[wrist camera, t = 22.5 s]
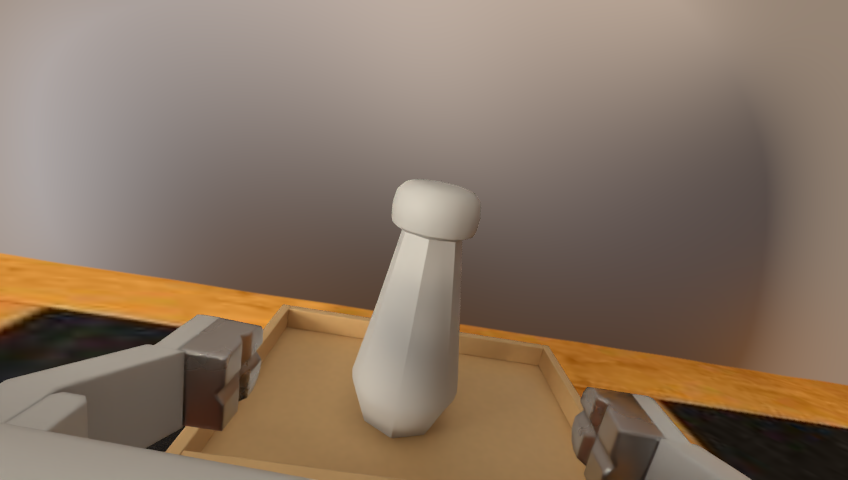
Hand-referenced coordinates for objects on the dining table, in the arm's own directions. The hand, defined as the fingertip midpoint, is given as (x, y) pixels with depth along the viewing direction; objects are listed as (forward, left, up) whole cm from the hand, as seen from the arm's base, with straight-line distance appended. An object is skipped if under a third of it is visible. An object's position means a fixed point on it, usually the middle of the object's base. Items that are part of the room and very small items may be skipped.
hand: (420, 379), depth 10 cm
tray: (+8, -8, -10) cm, 15 cm away
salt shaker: (+8, -7, -9) cm, 14 cm away
